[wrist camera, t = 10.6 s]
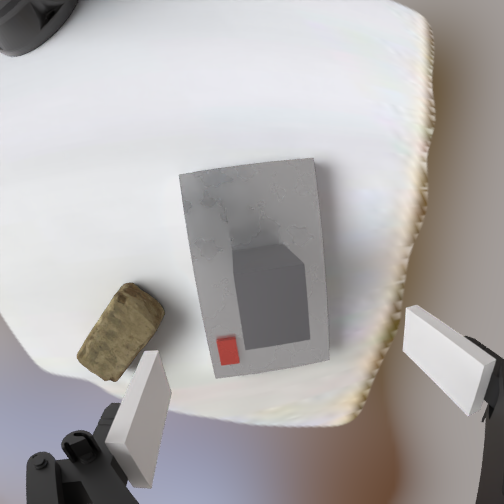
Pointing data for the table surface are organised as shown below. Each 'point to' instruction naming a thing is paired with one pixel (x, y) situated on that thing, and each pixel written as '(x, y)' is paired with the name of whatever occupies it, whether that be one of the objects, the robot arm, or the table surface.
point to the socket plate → (253, 236)
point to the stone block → (121, 332)
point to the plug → (271, 296)
